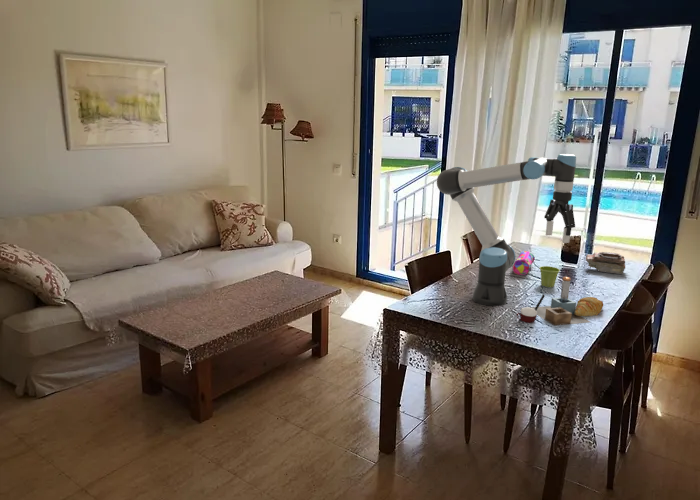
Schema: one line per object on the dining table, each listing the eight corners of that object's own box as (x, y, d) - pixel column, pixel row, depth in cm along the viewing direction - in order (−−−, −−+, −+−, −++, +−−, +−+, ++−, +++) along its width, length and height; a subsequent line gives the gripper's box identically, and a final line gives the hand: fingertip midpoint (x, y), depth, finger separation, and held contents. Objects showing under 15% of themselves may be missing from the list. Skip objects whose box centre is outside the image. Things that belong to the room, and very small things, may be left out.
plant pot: (554, 283, 267) (556, 266, 265) (560, 289, 258) (562, 272, 256) (535, 282, 268) (537, 265, 266) (540, 288, 259) (542, 271, 257)
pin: (561, 312, 225) (565, 279, 222) (557, 310, 228) (561, 277, 224) (567, 312, 226) (572, 278, 222) (563, 309, 229) (567, 276, 225)
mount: (555, 324, 214) (556, 314, 213) (545, 317, 220) (546, 308, 219) (570, 322, 215) (571, 313, 214) (559, 316, 222) (560, 307, 221)
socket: (560, 315, 223) (561, 303, 222) (550, 309, 230) (551, 298, 228) (574, 313, 225) (576, 302, 223) (564, 307, 231) (565, 297, 230)
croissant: (580, 327, 221) (591, 314, 216) (562, 310, 226) (572, 297, 221) (604, 315, 234) (615, 302, 229) (586, 299, 239) (597, 286, 234)
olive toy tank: (623, 278, 277) (626, 260, 274) (582, 272, 286) (584, 254, 284) (625, 271, 288) (627, 254, 286) (585, 266, 297) (587, 249, 295)
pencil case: (530, 277, 276) (532, 260, 274) (511, 275, 280) (513, 258, 277) (534, 266, 296) (535, 250, 293) (516, 264, 299) (518, 249, 297)
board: (554, 327, 212) (554, 325, 212) (526, 309, 231) (526, 307, 231) (590, 324, 216) (590, 322, 216) (560, 306, 235) (560, 304, 235)
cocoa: (515, 322, 216) (518, 294, 213) (518, 317, 222) (520, 290, 219) (539, 327, 212) (543, 298, 209) (542, 322, 218) (545, 294, 214)
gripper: (588, 195, 217) (581, 245, 223) (555, 186, 241) (549, 232, 246) (571, 195, 216) (565, 246, 221) (539, 186, 239) (534, 232, 245)
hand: (557, 238), depth 234 cm, fingers open, 13 cm apart
